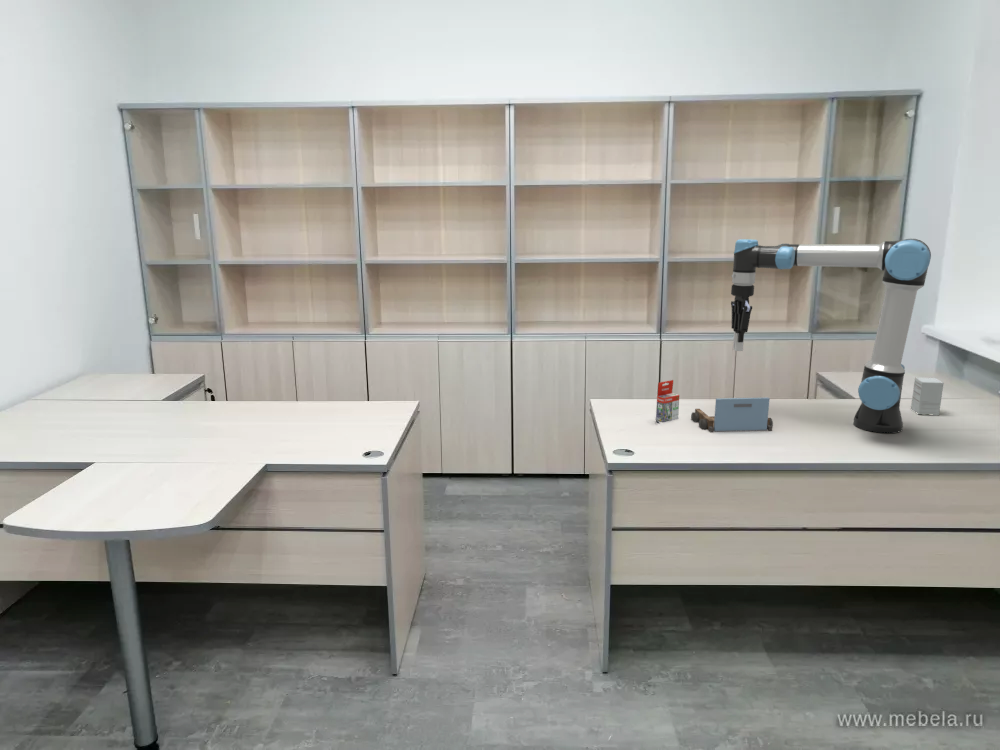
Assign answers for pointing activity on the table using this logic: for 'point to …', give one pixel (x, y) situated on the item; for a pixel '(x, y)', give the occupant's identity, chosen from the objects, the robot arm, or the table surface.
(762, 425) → the panel
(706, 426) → the trailer bed
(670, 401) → the ink box
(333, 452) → the table surface
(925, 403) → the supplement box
